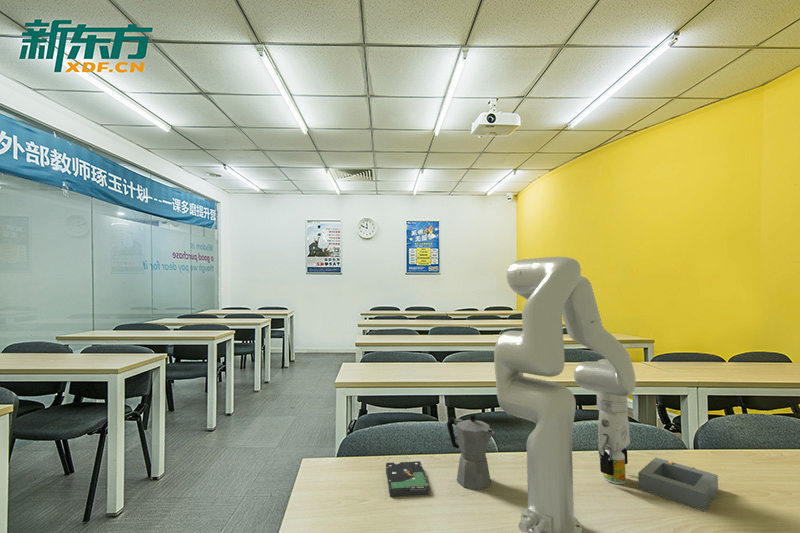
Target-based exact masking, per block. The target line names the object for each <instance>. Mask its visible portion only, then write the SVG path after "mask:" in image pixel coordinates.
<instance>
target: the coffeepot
mask: <svg viewBox="0 0 800 533" xmlns="http://www.w3.org/2000/svg"><path fill="white" fill-rule="evenodd" d="M476 416H477V415H476V414H474V413H471V414H469V418H470V419H466V420H463V419H461V418H458V417H457V418H456V417H453V416H451V417H450V418H449V419H448V420H447V422H446V426H447V427H446V428H447V430H448V433H449V438H450V442H451V445H452V447H454V448H456V449H459V450H460V457H459V462H458V468H457V475H456V482H457V483H458V484H459V485H460V486H462V487H463V488H465V489H469V490H474V491H475V490H479V491H480V490H484V489H486V488H488V487H489V486H490V482H491V476H490V475H491V474H490V470H489V464H488V458H487V456H486V455H487V454H486V453H487V451H488V444H489V442H490V440H491V438H492V437H493V435H495V434H496V433H495V431H494V430H493V429H491V425H489V424H488V423H486V422H484V421H482V420H476ZM454 426H455V429H456V435H457V441H458V442H457V443H458V444H457V443H456V435H455V433H454Z"/></svg>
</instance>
